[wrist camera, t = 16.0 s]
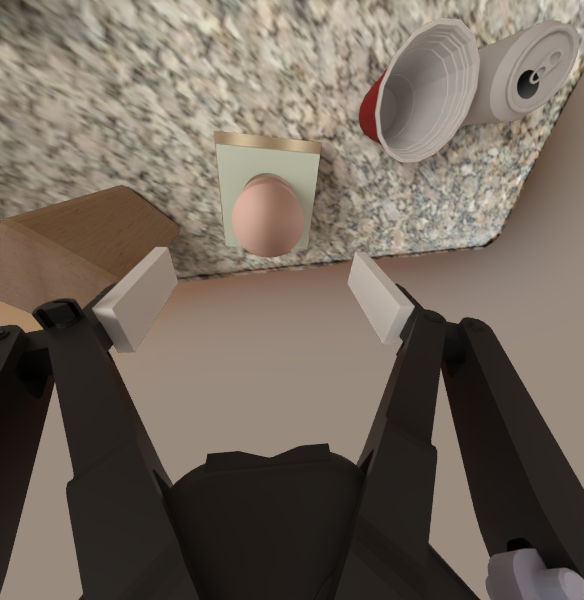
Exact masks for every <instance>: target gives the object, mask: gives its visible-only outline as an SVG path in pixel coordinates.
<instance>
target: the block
mask: <svg viewBox="0 0 584 600" xmlns="http://www.w3.org/2000/svg"><path fill="white" fill-rule="evenodd" d="M178 233H179V227H178V225H177V224H176V223H174V222H173V221H172V220H170V219H169V218H168V217H166V216H165V215H164V214H162V213H161V212H160V211H158V210H157V209H156V208H154V207H153V206H152V205H150V204H149V203H148V202H147V201H145V200H144V199H143V198H141V197H140V196H139V195H137V194H136V193H135V192H133V191H132V190H131V189H129V188H128V187H126V186H123V185H120V186H116V187H113V188H109V189H106V190H102V191H99V192H96V193H92V194H89V195H85V196H82V197H78V198H75V199H72V200H68V201H65V202H61V203H58V204H54V205H51V206H47V207H44V208H41V209H37V210H34V211H30V212H27V213H23V214H20V215H16V216H13V217H10V218H6V219H4V220H2V221H1V222H0V301H2V302H4V303H6V304H9V305H12V306H14V307H17V308H19V309H21V310H24V311H26V312H29V313H31V314H32V312H33V310H35V309H36V308H37V307H38V306H40V305H42V304H44V303H47V302H49V301H52V300H56V299H61V298H71V299H75V300H76V301H77V303H78V304H79V306H80V307H81V309H83V308H84V307H85V306H86V305H87V304H88V303H90V302H91V301H92V300H93V299H94V298H95V297H96V296H97V295H99V293H100V292H102V291H103V290H104V289H105V288H106V287H108V286H110V285H112V284H114V283H119V282H120V281H121V280H122V279H123V278H124V277H125V276H126V275H127V274H128V273H129V272H130V271H131V270H132V269H133V268H134V267H136V266H137V265H138V264H139V263H140V262H141V261H142V260H143V259H144V258H145V257H146V256H147V255H148V254H149V253H150V252H151V251H152V250H153V249H154V248H155V247H168V246H169V245H170V243H171V242H172V241H173V239H174V238H175V237H176V236H177V234H178Z"/></svg>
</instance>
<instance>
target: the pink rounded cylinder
mask: <svg viewBox="0 0 584 600" xmlns="http://www.w3.org/2000/svg"><path fill="white" fill-rule="evenodd" d="M232 226H233V230H234V233H235V236H236V238H237V239H238V241H239V242H240V243H241V245H242V246H243V247H244V248H245V249H247V250H248V251H249V252H251V253H253V254H255V255H258V256H261V257H277V256H281V255H283V254H285V253H287V252H289V251H290V250H291V249H293V248H294V247H295V246H296V244H297V243H298V241H299V240H300V238H301V236H302V233H303V229H304V215H303V211H302V209H301V206H300V204H299V202H298V200H297V198H296V197H295V195H294V193H293V191H292V189H291V187H290V186H289V184H288V183H287V182H286V181H285V180H284V179H283V178H281V177H280V176H278V175H276V174H272V173H262V174H258V175H256V176H254V177H253V178H251V179H250V180H249V181H248V182H247V184H246V185H245V187H244V189H243V190H242V192H241V194H240V196H239V198H238V200H237V201H236V203H235V206H234V208H233V212H232Z"/></svg>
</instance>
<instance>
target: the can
mask: <svg viewBox="0 0 584 600" xmlns="http://www.w3.org/2000/svg"><path fill="white" fill-rule="evenodd" d="M578 46H579V38H578V33H577V30H576V29H575V28H574V27H573V26H572V25H570V24H564V23H561V22H560V21H555V20H547V21H544V22H542V23H539V24H536V25H534V26H531V27H529V28H527V29H525V30H522V31H520V32H518V33H515V34H513V35H511V36H509V37H506V38H504V39H502V40H500V41H497V42H495V43H493V44H490V45H488V46H486V47H484V48H481V49H479V50H478V52H479V57H480V66H479V75H478V83H477V90H476V92H475V95H474V98H473V100H472V103H471V106H470V108H469V111H468V114H467V116H466V117H465V119H464V120H463V122H462V124H461V125H460V126H465V125H477V124H488V123H500V122H510V121H514V120H517V119H520V118H522V117H524V116H525V115H527V114H528V113H530V112H532V111H533V110H536V109H537V108H539V107H540V106H542V105H543V104H545V103H546V102H547V101H548V100H549V99H550V98H551V97H552V96H554V95H555V93H556V92H557V91H558V90H559V88H560V87H561V86H562V85H563V83H564V82H565V80H566V79H567V77H568V75H569V73H570V71H571V70H572V68H573V65H574V62H575V60H576V57H577V53H578Z"/></svg>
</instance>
